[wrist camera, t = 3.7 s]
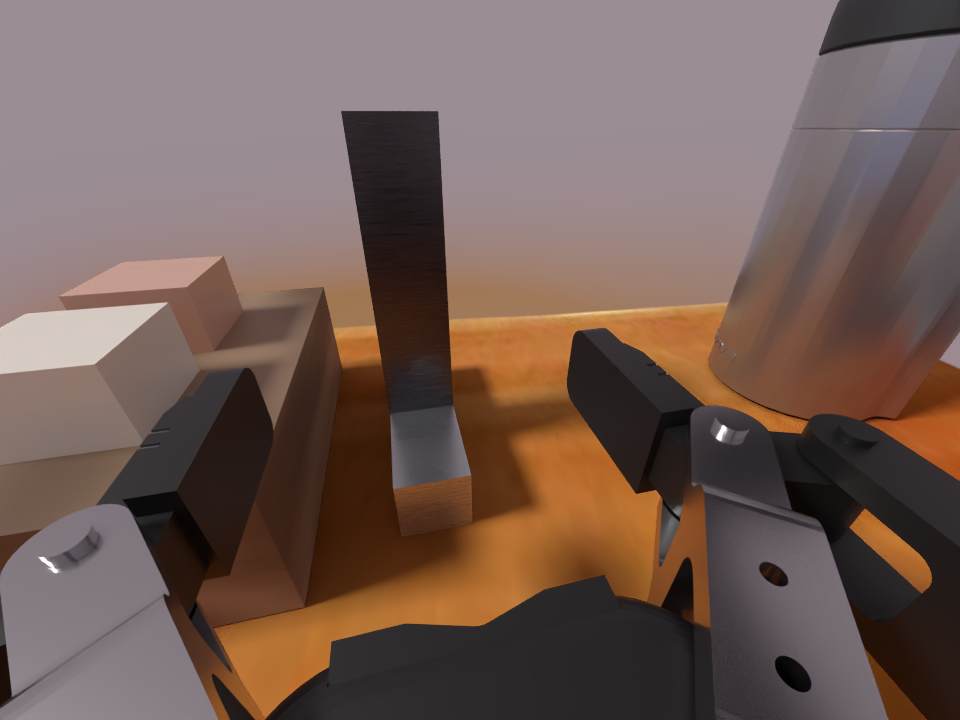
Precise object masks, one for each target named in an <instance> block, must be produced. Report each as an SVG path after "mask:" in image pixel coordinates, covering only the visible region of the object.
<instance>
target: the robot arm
mask: <svg viewBox="0 0 960 720" xmlns="http://www.w3.org/2000/svg"><path fill="white" fill-rule="evenodd" d="M819 55H820V57H819V58H817V59H816V62H815V65H814V68H813V70H812V73H811V76H810V79H809V82H808V85H807V87H806V90H805V93H804V95H803V98H802V101H801V104H800V106H799V109H798V112H797V115H796V118H795V120H794V123H793V126H792V128H793V129H792V130H791V132H790V134H789V137H788V140H787V143H786V145H785V148H784V151H783V154H782V156H781V159H780V162H779V165H778V167H777V170H776V173H775V176H774V179H773V181H772V184H771V187H770V190H769V192H768V195H767V198H766V201H765V203H764V206H763V209H762V212H761V214H760V217H759V220H758V223H757V225H756V228H755V231H754V234H753V237H752V239H751V242H750V245H749V248H748V250H747V253H746V256H745V259H744V262H743V265H742V267H741V270H740V272H739V275H738V278H737V281H736V284H735V286H734V289H733V292H732V295H731V298H730V300H729V303H728V306H727V309H726V312H725V314H724V317H723V320H722V322H721V325H720V328H719V329H718V331H717V334H716V337H715V342H714V345H713V348H712V350H711V353H710V356H709V366H710V368H711V369H712V371H713V373H714V374H715V375H716V376H717V377H718V378H719V379H720V380H721V381H722V382H723V383H724V384H726V385H727V386H728V387H730V388H731V389H732V390H734V391H736V392H737V393H739V394H741V395H742V396H744V397H746V398H748V399H750V400H752V401H754V402H757V403H759V404H761V405H763V406H765V407H768V408H771V409H774V410H777V411H780V412H783V413H786V414H790V415H794V416H797V417H801V418H805V419H810V420H809V422H808V423H807V425H806V427H805V428H804V430H803V432H802V433H801V434H798V433H785V432H772V431H768V430H767V429H766V428H765V427H764V426H763V425H762V424H761V423H760V422H759V421H757V420H756V419H754V418H753V417H751V416H749V415H747V414H745V413H743V412H740V411H738V410H735V409H731V408H728V407H723V406H705V405H704V404H702V403H701V402H700V401H699V400H698V399H697V398H695V397H694V396H693V395H692V394H691V393H690V392H689V391H687V390H686V389H685V388H684V387H683V386H682V385H680V384H679V383H678V382H677V381H676V380H675V379H673V378H672V377H671V376H670V375H667V374H666V372H665V371H664V370H663V369H662V368H661V367H660V366H658V365H657V366H656V363H655V362H654V361H653V360H652V359H650V358H649V357H648V356H647V355H646V354H645V353H643V352H642V351H640V350H638V349H636V348H633V347H631V346H629V345H627V344H625V343H624V344H623V343H622V342H621V341H620V340H619V339H618V338H616V337H615V336H614V335H613V334H612V333H611V332H610V331H609V330H607V329H606V328H598V329H589V330H581V331H577V332H576V333H575V334H574V336H573V341H572V348H571V355H570V362H569V369H568V376H567V388H568V393H569V396H570V399H571V401H572V402H573V404H574V405H575V407H576V408H577V410H578V411H579V412H580V414H581V415H582V417H583V418H584V420H585V421H586V422H587V424H588V425H589V427H590V428H591V430H592V431H593V433H594V434H595V435H596V437H597V438H598V440H599V441H600V443H601V444H602V445H603V447H604V448H605V450H606V451H607V453H608V454H609V456H610V457H611V458H612V460H613V461H614V463H615V464H616V466H617V467H618V468H619V470H620V471H621V473H622V474H623V476H624V477H625V479H626V480H627V481H628V483H629V484H630V486H631V487H632V489H633V490H634V491H635V493H636V494H638V493H643V492H648V491H653V490H656V491H657V492H658V493H659V494H660V496H661V498H660V500H659V503H658V507H657V520H656V534H655V548H654V561H653V575H652V582H651V588H650V592H649V596H648V600H647V602H644V601H641V600H638V599H634V598H628V597H623V596H615V595H614V593H613V591H612V589H611V587H610V585H609V583H608V581H607V579H606V577H605V575H603V576H598V577H594V578H590V579H586V580H582V581H578V582H574V583H570V584H566V585H562V586H557V587H553V588H549V589H545V590H543V591H541V592H539V593H538V594H536V595H534V596H533V597H531V598H529V599H528V600H526V601H524V602H522V603H521V604H519V605H517V606H516V607H514V608H512V609H511V610H509V611H507V612H506V613H504V614H502V615H500V616H499V617H497V618H495V619H494V620H492V621H490V622H489V623H487V624H484V625H481V626H451V625H427V624H402V625H398V626H394V627H390V628H386V629H381V630H377V631H373V632H369V633H365V634H361V635H357V636H353V637H349V638H345V639H340V640H336V641H332V643H331V654H330V665H329V668H327V669H325V670H323V671H322V672H320V673H318V674H317V675H315V676H314V677H313V678H311V679H310V680H308V681H307V682H305V683H304V684H303V685H301V686H300V687H299V688H297V689H296V690H295V691H294V692H293V693H292V694H291V695H289V696H288V697H287V698H286V699H285V700H284V701H282V702H281V703H280V704H279V705H278V706H277V707H276V708H275V709H274V710H273V711H272V712H271V713H270V715H269V716H268V717H267V718H266V719H265V717H264V716H263V714H262V713H261V711H260V709H259V708H258V706H257V705H256V703H255V701H254V700H253V698H252V697H251V696H250V694H249V692H248V691H247V689H246V688H245V686H244V684H243V683H242V681H241V679H240V677H239V675H238V673H237V672H236V670H235V668H234V666H233V664H232V662H231V660H230V658H229V657H228V655H227V653H226V651H225V649H224V647H223V645H222V643H221V642H220V640H219V638H218V636H217V634H216V632H215V630H214V628H213V626H212V625H211V623H210V621H209V619H208V617H207V615H206V613H205V611H204V610H203V608H202V606H201V604H200V603H199V602H198V600H197V596H198V593H199V591H200V588H201V585H202V583H203V581H204V580H209V579H214V578H219V577H224V576H229V575H230V573H231V570H232V567H233V563H234V560H235V557H236V554H237V551H238V548H239V545H240V542H241V539H242V536H243V533H244V530H245V527H246V524H247V521H248V518H249V515H250V512H251V509H252V506H253V503H254V500H255V497H256V494H257V491H258V488H259V485H260V482H261V479H262V475H263V472H264V469H265V466H266V463H267V460H268V457H269V454H270V451H271V448H272V445H273V438H274V431H273V424H272V420H271V417H270V414H269V412H268V409H267V406H266V404H265V401H264V398H263V396H262V393H261V390H260V388H259V385H258V383H257V380H256V377H255V375H254V373H253V372H252V370H251V369H249V368H239V369H230V370H221V371H212V372H210V373H208V374H207V376H206V377H205V379H204V380H203V381H202V383H201V384H200V386H199V387H198V389H197V390H196V392H195V393H194V395H193V396H187V397H185V398H183V399H182V400H181V401H179V402H178V403H177V404H175V405H174V406H173V407H171V408H170V409H169V410H167V411H166V412H165V413H164V414H163V415H162V417H161V418H160V419H159V421H158V422H157V423H156V425H155V426H154V427H153V429H152V430H151V432H152V433H151V434H148V435H147V437H146V438H145V439H144V441H143V442H142V444H141V445H140V449H138V450H136V452H135V453H134V454H133V456H132V457H131V458H130V460H129V461H128V462H127V464H126V465H125V466H124V468H123V469H122V471H121V472H120V473H119V475H118V476H117V477H116V479H115V480H114V481H113V483H112V484H111V485H110V487H109V488H108V489H107V491H106V492H105V493H104V495H103V496H102V498H101V499H100V500H99V502H98V503H97V504H96V506H93V507H89V508H86V509H82V510H80V511H77V512H74V513H72V514H70V515H68V516H65V517H63V518H61V519H59V520H58V521H56V522H54V523H52V524H50V525H49V526H47V527H46V528H44V529H42V530H41V531H40V532H38V533H37V534H35V535H34V536H33V537H31V538H30V539H29V540H28V541H27V542H25V543H24V544H23V545H22V546H21V547H20V548H19V549H18V550H17V551H16V552H15V553H14V554H13V555H12V556H11V558H10V559H9V560H8V561H7V563H6V565H5V566H4V568H3V569H2V570H0V720H888V717H887V714H886V711H885V708H884V705H883V702H882V699H881V696H880V693H879V690H878V687H877V684H876V681H875V678H874V675H873V673H872V670H871V667H870V664H869V661H868V658H867V655H866V652H865V649H866V650H867V651H868V652H869V653H870V654H871V656H872V657H873V658H874V659H875V660H876V661H877V662H878V664H879V665H880V666H881V667H882V668H883V669H884V670H885V672H886V673H887V674H888V675H889V676H890V677H891V679H892V680H893V681H894V682H895V683H896V684H897V685H898V687H899V688H900V689H901V690H902V691H903V692H904V693H905V695H906V696H907V697H908V698H909V699H910V700H911V701H912V703H913V704H914V705H915V706H916V707H917V708H918V709H919V711H920V712H921V713H922V714H923V715H924V716H925V717H926V719H927V720H960V481H958V480H957V479H955V478H954V477H952V476H951V475H949V474H948V473H946V472H945V471H943V470H941V469H940V468H938V467H937V466H935V465H934V464H932V463H931V462H929V461H928V460H926V459H924V458H923V457H921V456H920V455H918V454H917V453H915V452H914V451H912V450H911V449H909V448H907V447H906V446H904V445H903V444H901V443H900V442H898V441H897V440H895V439H894V438H892V437H890V436H889V435H887V434H886V433H884V432H883V431H881V430H879V429H877V428H875V427H873V426H871V425H869V424H867V423H865V422H862V421H861V420H864V419H867V418H870V417H874V416H879V417H887V418H897V417H898V415H899V414H900V412H901V411H902V410H903V408H904V407H905V406H906V404H907V403H908V402H909V400H910V399H911V397H912V396H913V395H914V393H915V392H916V391H917V389H918V388H919V387H920V385H921V384H922V382H923V381H924V380H925V378H926V377H927V376H928V374H929V373H930V372H931V370H932V369H933V367H934V366H935V365H936V363H937V362H938V361H939V359H940V358H941V357H942V355H943V354H944V352H945V351H946V350H947V348H948V347H949V346H950V344H951V343H952V342H953V340H954V339H955V337H956V336H957V335H958V333H959V332H960V0H840V1H839V3H838V4H837V7H836V9H835V11H834V14H833V16H832V19H831V21H830V24H829V27H828V29H827V32H826V35H825V38H824V40H823V43H822V46H821V49H820V52H819ZM865 508H866V509H867V510H868V511H869V512H870V513H872V514H873V515H874V516H875V517H876V518H878V519H879V520H880V521H881V522H882V523H883V524H885V525H886V526H887V527H888V528H889V529H891V530H892V531H893V532H894V533H895V534H897V535H898V536H899V537H900V538H901V539H903V540H904V541H905V542H906V543H907V544H909V545H910V546H911V547H912V548H913V549H914V550H916V551H917V552H918V553H919V554H920V555H921V556H922V557H923V559H924V560H925V561H926V563H927V564H928V566H929V568H930V570H931V573H932V583H931V585H930V587H929V588H928V589H927V590H925V591H924V592H923V593H922V594H921V593H920V592H919V591H918V590H917V589H916V588H915V587H913V586H912V585H911V584H910V583H909V582H908V581H907V580H906V579H905V578H904V577H903V576H901V575H900V574H899V573H898V572H897V571H896V570H895V569H894V568H893V567H892V566H890V565H889V564H888V563H887V562H886V561H885V560H884V559H883V558H882V557H881V556H880V555H878V554H877V553H876V552H875V551H874V550H873V549H872V548H871V547H870V546H869V545H868V544H866V543H865V542H864V541H863V540H862V539H861V538H860V537H859V536H858V535H857V534H855V533H854V532H853V531H852V530H851V529H850V528H849V527H850V526H851V525H852V523H853V522H854V521H855V520H856V518H857V517H858V516H859V515H860V514H861V512H862V511H863V510H864V509H865ZM864 648H865V649H864Z"/></svg>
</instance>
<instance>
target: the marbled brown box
mask: <svg viewBox="0 0 960 720" xmlns="http://www.w3.org/2000/svg"><path fill="white" fill-rule="evenodd" d="M237 295H238V298H239V300H240V303H241V306H242V309H243V312H242V314H241V315H240V316H239V318H238V319H237V320H236V322H235V323H234V325H233V326H232V327H231V329H230V330H229V331H228V333H227V334H226V335H225V337H224V338H223V340H222V341H221V342H220V344H219V345H218V346H217V348H216V349H215V350H214V351H210V352H201V353H192V354H193V357H194V359H195V361H196V363H197V365H198V367H199V370H200V371H199V372H198V374H197V375H196V376H195V378H194V379H193V380H192V382H191V383H190V384H189V386H188V387H187V389H186V390H185V391H184V393H183V394H182V395H181V397H180V398H179V399H178V401H177V402H176V404H177V403H178V402H179V401H181V400H182V399H183V398H185V397H187V396H193V395H194V393H195V392H196V390H197V389H198V387H199V386H200V384H201V383H202V381H203V380H204V379H205V377H206V376H207V374H208V373H210V372H212V371H221V370H230V369H239V368H249V369H251V370H252V372H253V373H254V375H255V377H256V380H257V383H258V385H259V388H260V390H261V393H262V396H263V398H264V401H265V404H266V406H267V409H268V412H269V414H270V417H271V420H272V424H273V431H274V438H273V445H272V448H271V451H270V454H269V457H268V460H267V463H266V466H265V469H264V472H263V475H262V479H261V482H260V485H259V488H258V491H257V494H256V497H255V500H254V503H253V506H252V509H251V512H250V515H249V518H248V521H247V524H246V527H245V530H244V533H243V536H242V539H241V542H240V545H239V548H238V551H237V554H236V557H235V560H234V563H233V567H232V570H231V573H230V575H229V576H224V577H219V578H214V579H209V580H204V581H203V583H202V585H201V588H200V591H199V593H198V596H197V600H198V602H199V603H200V604H201V606H202V608H203V610H204V611H205V613H206V615H207V617H208V619H209V621H210V623H211V625H212V626H213V627H218V626H222V625H227V624H231V623H236V622H240V621H245V620H249V619H254V618H258V617H263V616H267V615H272V614H276V613H281V612H285V611H290V610H294V609H299V608H303V607H305V603H306V597H307V591H308V584H309V578H310V571H311V565H312V558H313V552H314V546H315V539H316V533H317V526H318V520H319V514H320V507H321V501H322V494H323V488H324V481H325V475H326V469H327V462H328V456H329V449H330V443H331V437H332V430H333V424H334V417H335V411H336V404H337V398H338V392H339V385H340V379H341V372H342V366H341V361H340V357H339V353H338V348H337V344H336V340H335V335H334V331H333V327H332V322H331V318H330V313H329V309H328V305H327V300H326V296H325V292H324V288H323V287H319V288H307V289H294V290H282V291H268V292H255V293H242V294H237ZM138 449H140V446H133V447H126V448H119V449H112V450H104V451H97V452H90V453H83V454H76V455H68V456H61V457H54V458H47V459H40V460H32V461H25V462H18V463H11V464H4V465H0V570H2V569H3V568H4V566H5V565H6V563H7V561H8V560H9V559H10V558H11V556H12V555H13V554H14V553H15V552H16V551H17V550H18V549H19V548H20V547H21V546H22V545H23V544H24V543H25V542H27V541H28V540H29V539H30V538H31V537H33V536H34V535H35V534H37V533H38V532H40V531H41V530H42V529H44V528H46V527H47V526H49V525H50V524H52V523H54V522H56V521H58V520H59V519H61V518H63V517H65V516H68V515H70V514H72V513H74V512H77V511H80V510H82V509H86V508H89V507H93V506H96V504H97V503H98V502H99V500H100V499H101V498H102V496H103V495H104V493H105V492H106V491H107V489H108V488H109V487H110V485H111V484H112V483H113V481H114V480H115V479H116V477H117V476H118V475H119V473H120V472H121V471H122V469H123V468H124V466H125V465H126V464H127V462H128V461H129V460H130V458H131V457H132V456H133V454H134V453H135V452H136V450H138Z"/></svg>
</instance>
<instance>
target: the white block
mask: <svg viewBox="0 0 960 720" xmlns="http://www.w3.org/2000/svg"><path fill="white" fill-rule="evenodd" d="M199 371H200V370H199V367H198V365H197V363H196V361H195V359H194V357H193V354H192V352H191V350H190V348H189V346H188V344H187V342H186V339H185V337H184V335H183V333H182V331H181V329H180V326H179V324H178V322H177V320H176V318H175V316H174V313H173V311H172V309H171V307H170V305H169V303H168V302H167V303H155V304H142V305H129V306H117V307H104V308H92V309H79V310H67V311H54V312H42V313H29V314H25V315H23V316H21V317H19V318H18V319H16V320H14V321H12V322H10V323H8V324H6V325H4V326H2V327H1V328H0V465H4V464H11V463H18V462H25V461H32V460H40V459H47V458H54V457H61V456H68V455H76V454H83V453H90V452H97V451H104V450H112V449H119V448H126V447H133V446H140V445H141V444H142V442H143V441H144V439H145V438H146V437H147V435H148V434H151V433H152V432H151V430H152V429H153V427H154V426H155V425H156V423H157V422H158V421H159V419H160V418H161V417H162V415H163V414H164V413H165V412H166V411H167V410H169V409H170V408H171V407H173V406H174V405H175V404H176V402H177V401H178V399H179V398H180V397H181V395H182V394H183V393H184V391H185V390H186V389H187V387H188V386H189V384H190V383H191V382H192V380H193V379H194V378H195V376H196V375H197V374H198V372H199Z"/></svg>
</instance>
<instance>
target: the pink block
mask: <svg viewBox="0 0 960 720" xmlns="http://www.w3.org/2000/svg"><path fill="white" fill-rule="evenodd" d="M59 298H60V300H61V301H62V303H63V304H64V306H65V308H66V309H67V310H79V309H92V308H104V307H117V306H129V305H142V304H155V303H167V302H168V303H169V305H170V307H171V309H172V311H173V313H174V316H175V318H176V320H177V322H178V324H179V326H180V329H181V331H182V333H183V335H184V337H185V339H186V342H187V344H188V346H189V348H190V350H191V352H192V353H201V352H210V351H214V350H215V349H216V348H217V346H218V345H219V344H220V342H221V341H222V340H223V338H224V337H225V335H226V334H227V333H228V331H229V330H230V329H231V327H232V326H233V325H234V323H235V322H236V320H237V319H238V318H239V316H240V315H241V314H242V312H243V309H242V306H241V303H240V300H239V298H238V295H237V292H236V289H235V286H234V284H233V281H232V278H231V275H230V273H229V270H228V267H227V264H226V261H225V259H224V256H217V257H200V258H185V259H168V260H153V261H135V262H122V263H121V264H119V265H117V266H115V267H113V268H111V269H109V270H107V271H106V272H104V273H102V274H100V275H98V276H96V277H94V278H92V279H90V280H89V281H87V282H85V283H83V284H81V285H79V286H77V287H76V288H74V289H72V290H70V291H68V292H66V293H64V294H62V295H61V296H59Z"/></svg>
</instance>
